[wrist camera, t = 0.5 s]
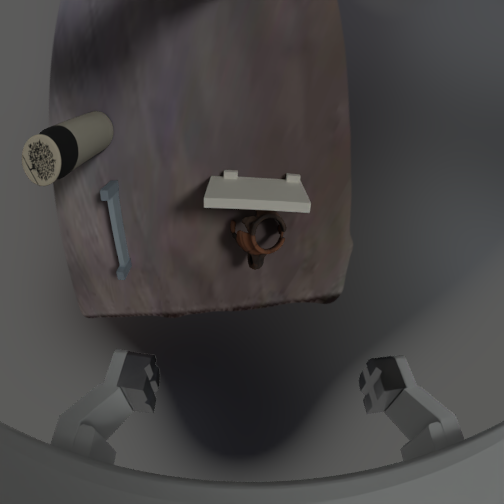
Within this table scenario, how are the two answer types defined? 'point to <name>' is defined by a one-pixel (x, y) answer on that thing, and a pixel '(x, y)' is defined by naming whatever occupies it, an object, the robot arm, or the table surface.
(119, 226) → the handle
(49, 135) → the travel mug
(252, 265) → the pottery mug
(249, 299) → the table surface
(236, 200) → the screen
